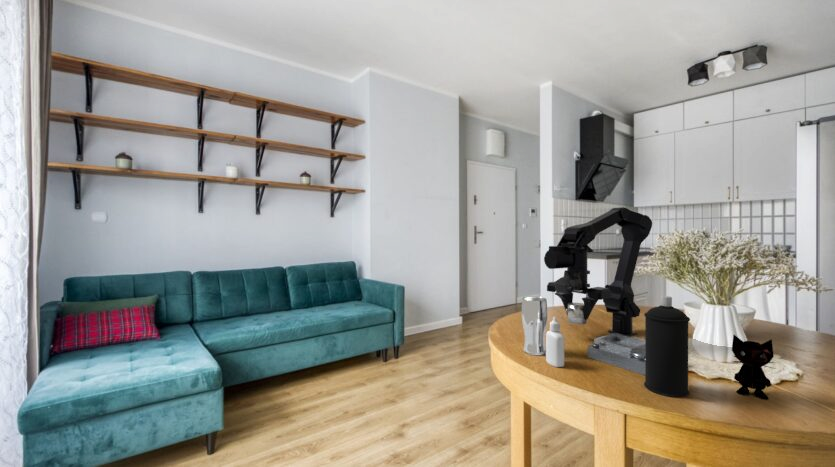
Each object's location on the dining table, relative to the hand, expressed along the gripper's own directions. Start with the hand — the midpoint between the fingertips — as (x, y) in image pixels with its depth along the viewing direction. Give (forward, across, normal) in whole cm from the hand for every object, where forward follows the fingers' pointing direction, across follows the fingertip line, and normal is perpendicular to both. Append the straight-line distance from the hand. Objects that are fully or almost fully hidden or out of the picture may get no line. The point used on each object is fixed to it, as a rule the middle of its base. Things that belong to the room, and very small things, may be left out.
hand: (577, 317), depth 117 cm
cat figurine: (+7, +43, -4) cm, 44 cm away
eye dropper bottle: (+7, +9, -23) cm, 26 cm away
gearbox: (+7, +19, -5) cm, 21 cm away
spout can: (+1, 0, -1) cm, 2 cm away
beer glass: (+7, 0, -20) cm, 21 cm away
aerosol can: (+7, +32, -16) cm, 36 cm away
